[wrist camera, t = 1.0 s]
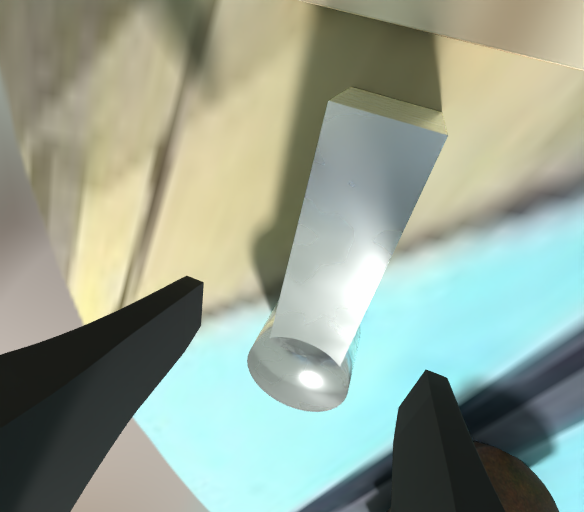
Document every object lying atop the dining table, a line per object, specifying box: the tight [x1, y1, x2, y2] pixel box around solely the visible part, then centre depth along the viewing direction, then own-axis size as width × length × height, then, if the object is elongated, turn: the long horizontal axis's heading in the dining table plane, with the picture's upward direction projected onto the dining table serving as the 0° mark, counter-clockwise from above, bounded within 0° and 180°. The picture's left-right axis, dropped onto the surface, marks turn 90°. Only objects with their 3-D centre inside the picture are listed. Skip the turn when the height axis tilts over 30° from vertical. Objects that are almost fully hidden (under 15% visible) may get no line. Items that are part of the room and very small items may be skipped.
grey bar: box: [247, 87, 448, 412], centre depth 14 cm, size 5×14×4 cm, turn 169°
